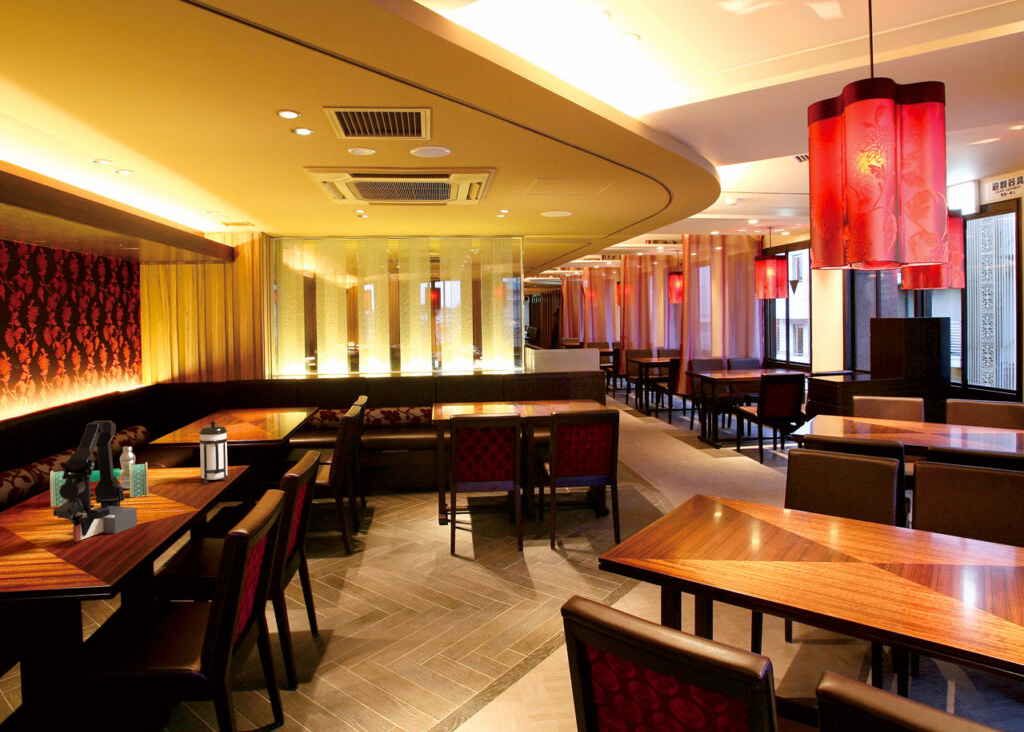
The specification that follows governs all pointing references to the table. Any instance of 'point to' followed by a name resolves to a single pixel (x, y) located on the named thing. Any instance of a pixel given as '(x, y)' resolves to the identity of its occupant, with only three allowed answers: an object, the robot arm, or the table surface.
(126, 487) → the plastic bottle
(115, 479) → the robot arm
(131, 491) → the decorative scroll
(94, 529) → the white bar pink end
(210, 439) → the coffee press
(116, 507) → the block
